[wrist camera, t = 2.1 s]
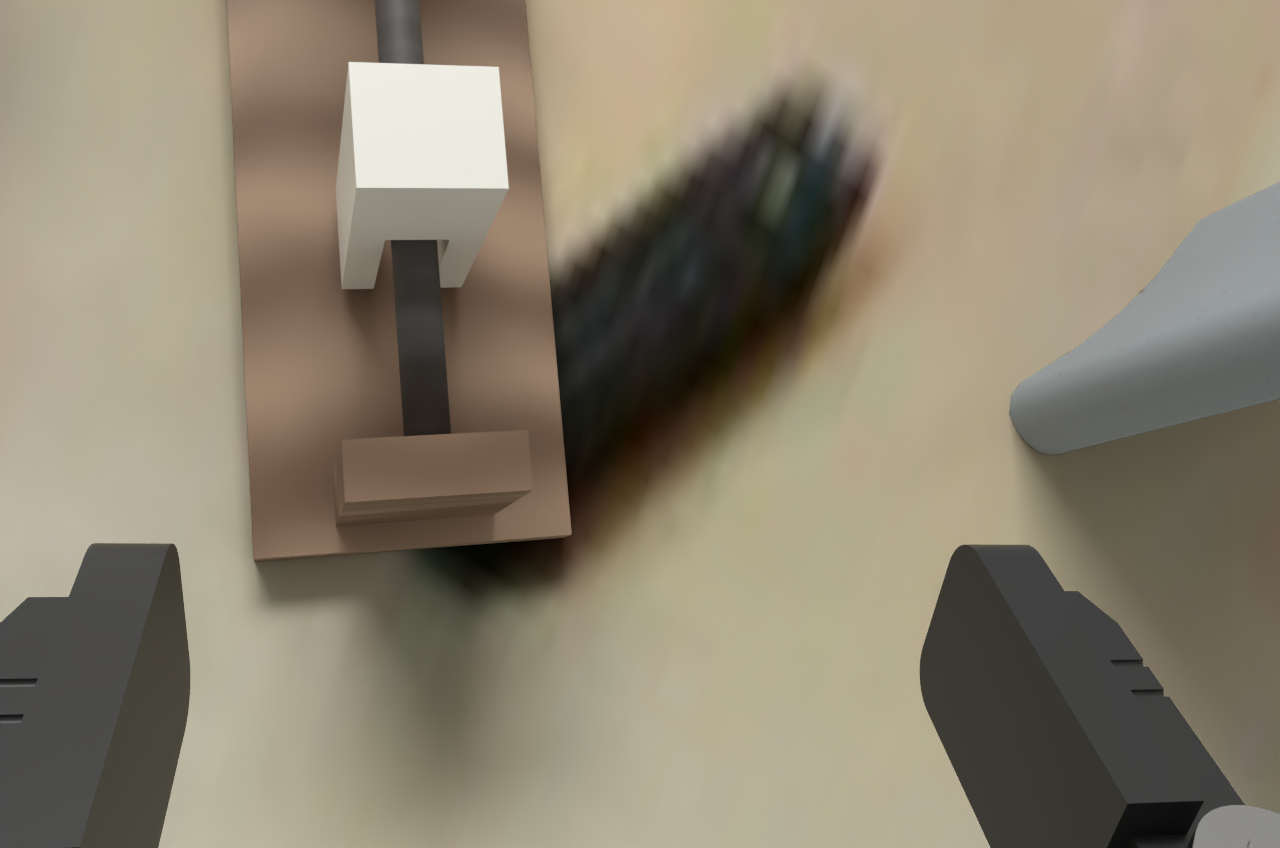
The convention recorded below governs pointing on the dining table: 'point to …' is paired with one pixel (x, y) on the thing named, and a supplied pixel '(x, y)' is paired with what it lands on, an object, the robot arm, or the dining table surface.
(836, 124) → the dining table surface
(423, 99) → the white slider block
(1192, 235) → the flask
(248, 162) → the cord stand
